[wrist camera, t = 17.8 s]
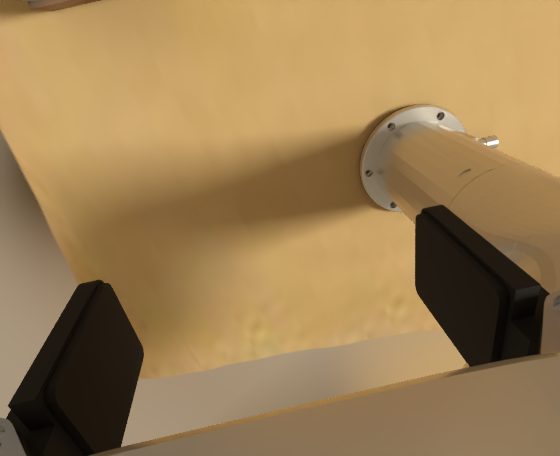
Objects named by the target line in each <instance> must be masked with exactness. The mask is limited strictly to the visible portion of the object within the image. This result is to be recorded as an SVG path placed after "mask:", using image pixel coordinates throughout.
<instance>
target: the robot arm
mask: <svg viewBox="0 0 560 456" xmlns="http://www.w3.org/2000/svg"><path fill="white" fill-rule="evenodd" d="M438 113H439V114H438ZM437 115H438V116H437ZM389 123H390V126H389V127H387V126H388V124H389ZM497 146H498V138H497V137H496V136H495V135H494V136H488V137H484V138H482V139H478V138H476V137H473V136H471V135H469V134H467V133H466V130H465V128H464V126H463V124H462V123H461V121H460V120H459V119H458V118H457V117H456V116H455V115H454V114H452V113H451V112H449V111H448V110H446V109H443V108H441V107H438V106H434V105H429V104H418V105H413V106H408V107H405V108H403V109H400V110H398V111H396V112H394V113H393V114H391V115H390V116H388V117H387V118H385V119H384V120H383V121H382V122H381V123H380V124H379V125H378V126H377V127H376V128H375V130H374V131H373V132H372V133H371V135H370V136H369V138H368V140H367V142H366V143H365V146H364V149H363V151H362V154H361V160H360V177H361V181H362V184H363V186H364V189H365V191H366V192H367V193H368V195H369V196H370V197H371V198H372V199H373V200H374V201H375V202H376V203H377V204H378V205H380V206H381V207H383V208H385V209H387V210H390V211H395V212H404V213H405V215H406V216H407V217H408V218H409V219H410V220H411V221H412V222H413V223H414V224H415V286H416V290H417V293H418V295H419V297H420V298H421V299H422V301H423V302H424V304H425V305H426V306H427V308H428V309H429V311H430V312H431V313H432V315H433V316H434V318H435V319H436V320H437V322H438V323H439V325H440V326H441V327H442V329H443V330H444V332H445V333H446V334H447V336H448V337H449V338H450V340H451V341H452V343H453V344H454V346H455V347H456V348H457V350H458V351H459V352H460V354H461V355H462V357H463V358H464V359H465V361H466V362H467V363H466V364H465V365H464V367H463V368H462V369H458V370H454V371H449V372H444V373H439V374H435V375H430V376H426V377H421V378H417V379H413V380H409V381H404V382H399V383H395V384H390V385H386V386H381V387H378V388H373V389H368V390H364V391H360V392H355V393H350V394H346V395H342V396H337V397H333V398H329V399H324V400H321V401H316V402H311V403H307V404H303V405H298V406H294V407H290V408H285V409H281V410H277V411H273V412H268V413H264V414H260V415H255V416H251V417H247V418H242V419H238V420H233V421H229V422H225V423H221V424H217V425H212V426H208V427H204V428H200V429H195V430H191V431H187V432H183V433H178V434H175V435H170V436H166V437H162V438H157V439H153V440H149V441H145V442H141V443H136V444H132V445H128V446H124V447H121V444H122V440H123V436H124V432H125V428H126V424H127V420H128V416H129V413H130V408H131V404H132V401H133V397H134V393H135V389H136V385H137V381H138V377H139V374H140V370H141V366H142V362H143V357H144V352H143V347H142V345H141V343H140V341H139V339H138V337H137V335H136V333H135V331H134V329H133V327H132V325H131V323H130V321H129V319H128V317H127V315H126V314H125V312H124V310H123V308H122V306H121V304H120V302H119V300H118V298H117V296H116V294H115V292H114V290H113V288H112V287H111V285H110V284H109V283H104V282H103V281H102V280H96V281H92V282H87V283H82V284H79V285H78V286H77V288H76V290H75V292H74V293H73V295H72V297H71V299H70V300H69V302H68V304H67V305H66V307H65V309H64V310H63V312H62V314H61V316H60V317H59V319H58V321H57V322H56V324H55V326H54V328H53V329H52V331H51V333H50V334H49V336H48V338H47V340H46V341H45V343H44V345H43V346H42V348H41V350H40V352H39V353H38V355H37V357H36V358H35V360H34V362H33V364H32V365H31V367H30V369H29V371H28V372H27V374H26V376H25V377H24V379H23V381H22V383H21V384H20V386H19V388H18V389H17V391H16V393H15V395H14V396H13V398H12V400H11V401H10V403H9V405H8V406H9V408H10V409H11V411H10V412H9V414H8V416H7V418H6V419H4V418H0V456H560V177H557V176H555V175H553V174H551V173H548V172H546V171H544V170H542V169H539V168H537V167H535V166H532V165H529V164H527V163H525V162H523V161H521V160H518V159H516V158H514V157H512V156H509V155H507V154H505V153H503V152H500V151H498V150H496V149H494V148H496V147H497ZM367 170H368V172H366V171H367Z"/></svg>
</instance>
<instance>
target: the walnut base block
mask: <svg viewBox="0 0 560 456" xmlns="http://www.w3.org/2000/svg"><path fill="white" fill-rule="evenodd" d="M96 1H100V0H43V1H39V2H30V1H28V3H29V5H30V7H31V9H35V10H45V11H55V10H60V9H64V8H69V7H73V6H78V5H82V4H87V3H91V2H96Z"/></svg>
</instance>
